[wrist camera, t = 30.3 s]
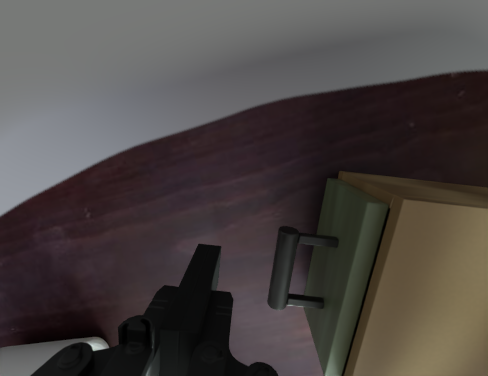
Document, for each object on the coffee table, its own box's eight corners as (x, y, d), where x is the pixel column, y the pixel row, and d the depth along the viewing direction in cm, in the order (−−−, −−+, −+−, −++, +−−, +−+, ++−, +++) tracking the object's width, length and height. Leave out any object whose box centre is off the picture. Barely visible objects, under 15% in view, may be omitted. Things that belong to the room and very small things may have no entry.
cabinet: (310, 303, 23) (345, 400, 15) (339, 170, 20) (404, 199, 11) (474, 321, 23) (601, 429, 15) (530, 192, 20) (734, 236, 11)
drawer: (259, 298, 22) (263, 370, 15) (278, 172, 19) (293, 194, 12) (461, 321, 22) (552, 402, 15) (512, 198, 19) (651, 234, 12)
